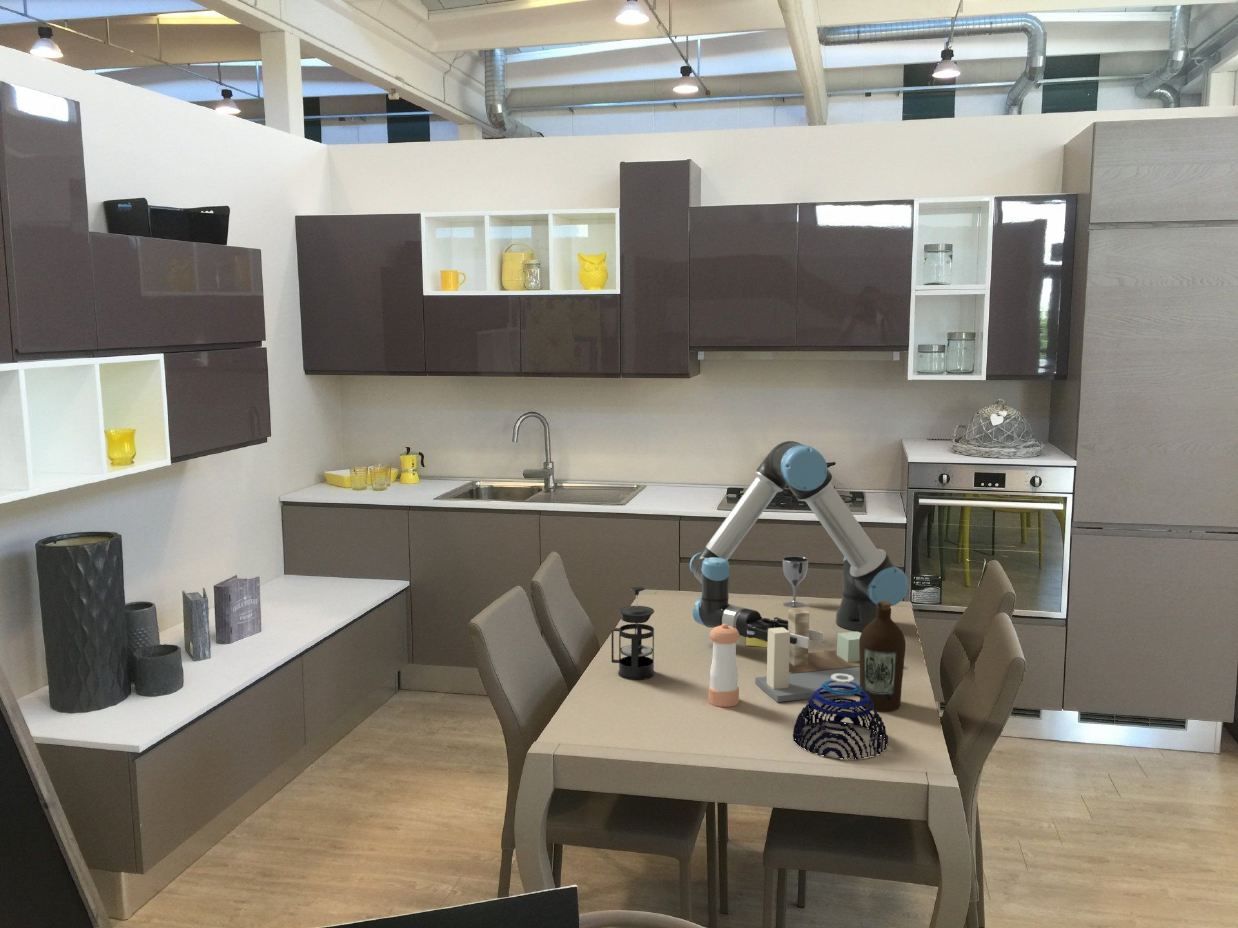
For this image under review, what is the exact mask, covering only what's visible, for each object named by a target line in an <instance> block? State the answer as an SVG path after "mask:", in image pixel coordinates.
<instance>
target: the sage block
mask: <svg viewBox="0 0 1238 928" xmlns="http://www.w3.org/2000/svg"><path fill="white" fill-rule="evenodd" d="M861 633H862V632H860V631H848V632H838V633H837V637H836V638H837V640H836V642H837V643H836V650H837V655H838V656H839V657H841V658H842V659H844V660H845V661H847V662H855V661H860V656H859V639H860V636H861Z"/></svg>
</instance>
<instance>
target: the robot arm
mask: <svg viewBox="0 0 1238 928" xmlns="http://www.w3.org/2000/svg"><path fill="white" fill-rule="evenodd" d="M754 473H755V477H754V479H753V480H752V482H751V483H750V485H748V486H747V489H746V490H745V492H744V493H743V494H742V496H741V497H740V498H739V500H738V501H737V503H736V504H735V505H734V507H732V509H731V511H730V512H729V514H728V515H727V517H725V519H724V520H723V522H722V523H721V524H720V526H719V528H717V530H716V532H715V533H714V534H713V536H712V537H711V538H710V540H709V541H708V542H707V544H706V545H705V546H704V547H703V549H702V550H701V552H697V553H696V554H694V555H692V557H691V559H690V562H689V569H690V571H691V574H692V575H693V577H694V578H695V579H696V580H698V581H699V583H700V585H701V598H698V599H697V600H696V601H695V602H694V605H693V606H694V607H693V608H692V617H693V619H694V621H695V622H696V623H697V624H699V625H702V626H705V627H706V628H710V629H713V628H715V627H717V626H721V625H722V624H727V625H728V626H731V627H733V628H736V629H737V630H738V632H739V636H741V637H746V638H748V639H753V638H754V639H758V640H760V641H764V642H767V643H768V629H769V628H781V627H783V628H785V629H786V630H788V620H787V619H782V618H780V617H779V616H778V617H777V616H776V617H773V619H774V620H773V619H770V618H766V617H762V616H761V613H760V612H759V610H758V611H757V610H754V609H750V608H746V607H742V606H738V605H734V604H731V603H729V598H730V597H729V595H730V593H729V592H730V588H729V587H730V574H731V573H730V563H729V561H728V560H729V559H730V557H731V556H732V555H733V553H734V552H735V551H736V549H737V548H738V547H739V545H740V543H742V541H743V539H744V538H745V537H746V535H748V533H749V532H750V531H751V529H752V527H753V526H754V525H755V523H756V522H757V521H758V519H759V518H760V517H761V516H762V514H763V512H764V511H765V510H766V508H767V507H768V506H769V504H770V503H771V501H772V500H773V499H774V498H775V496H776V495H777V493H781V492H783V491H784V490H785V488H787V487H788V488H789V490H790V491H791V493H792V494H793V496H795V498H796V500H797V501H798V502H799V501H801V502H805V503H806V504H807V505H808V507H809V509H810V510H811V511H812V513H813V514H814V515H815V517H816V518H817V519H818V522H820V524H821V526H822V527H823V528H824V529H825V531H826V532H827V534H828V536H829V537H830V538H831V540H833V542H834V544H835V545H836V546H837V548H838V549H839V551H840V553H842V555H843V556H844V557H843V560H842V563H843V572H842V573H843V575H842V576H843V578H842V599H841V601H840V604H839V606H838V609H837V612H836V615H835V624H836V625H837V626H838V627H840V628H842V629H846V630H849V631H854V632H857V631H858V632H862V631H863V629H864V628H865V627H866V626H867V625H868V624H869V623H871V622H872V621H873V620H874V619H875V618H876V608H877V602H878V601H888V602H890V603H891V606H890V607H893V606H896V605H898V604H899V603H901V602H902V601H903V599H904V598H905V597H906V595H907V593H908V589H909V579H908V577H907V576H906V574H905V572H904V571H903V570H902V569H900V568H899V567H897V566H896V565H895V563H894V562H893V561H892V559H891V558H890V557H889V555H888V554H887V552H886V551H885V549H882V548H877V547H876V546H875V544H874V543H873V542H872V540H871V538H870V537H869V536H868V534H867V533H866V532H865V530H864V529H863V527H862V525H861V524H860V523H859V521H858V520H857V519H856V517H855V516H854V514H853V513H852V511H851V510H850V509H849V507H848V505H847V504H846V503H845V501H844V500H843V498H842V497H841V496H840V495H839V493H838V491H837V490H836V489H835V487H834V485H833V478H834V477H833V474H832V473H831V471H830V470H829V469H828V464H827V462H826V459H825V458H824V456H823V454H821V452H820V451H819V450H817V449H816V448H814V447H812V446H809V445H805V444H802V443H800V442H797V441H793V440H787V441H784V442H780V443H778V444H777V445H776V446H775V447H773V448H772V449H771V450H770V451H769V453H767V455H766V457H765V458H764V459H763V461H762V462H761V463H760V465H759V466H758V467H757V469H756V470H755V472H754ZM823 640H824V632H823V631H818V630H814V629H810V628H809V638H808V637H804V636H801V635H797V634H793V633H790V644H792V645H796V646H799V647H803V648H807V649H808V650H809V649H810V641H811V642H816V643H819V644H822V643H823V642H824V641H823Z"/></svg>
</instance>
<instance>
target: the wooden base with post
mask: <svg viewBox="0 0 1238 928" xmlns="http://www.w3.org/2000/svg"><path fill="white" fill-rule="evenodd" d="M787 616H788V618H787V619H788V620H787V621H788V631H789V632H790V633H793V634H797V635H801V636H804V637H808V638H809V629H810V612H809V611H808V610H806V609H804V608H803V607H801V608H793V609H788V615H787ZM853 667H860V661H855V662H847V661H845V660H844V659H842V658H841V657H839V656H838V655H837V649H836V650H835V649H834V650H826V651H816V652H809V648H808V649H807V648H803V647H799V646H796V645H792V644H790V652H789V673H790V674H795V673H805V672H814V671H824V670H834V669H843V668H853Z"/></svg>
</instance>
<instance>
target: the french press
mask: <svg viewBox="0 0 1238 928" xmlns="http://www.w3.org/2000/svg"><path fill="white" fill-rule="evenodd" d="M628 590H629V591H631V592H634V595H635V605H627V606H624V607H621V608H620V609H619V610H618V612H619V614H620V620H621V621H622V622H625V623H628V624H625V625H621V626H619V627H613V628H612V629H611V663H612V664H619V665H618V672H617V673H618V676H619V677H620V678H622V679H626V680H629V681H630V680H631V681H641V680H648V679H652V678H653V677H654V676H655V668H654V667H655V665H654V664H655V663H654V661H655V628H654V627H653V626H651V625H648V624H644V623H646V622H648V621H650V618H651V616H652V615H653V614H655V609H653V608H652V607H650V606H646V605H638V596H639V593H640V592H642V591H645V590H646V587H643V586H639V585H633V586H630V587H628ZM627 630H634V633H627V632H624V631H627ZM642 630H646V631H649V632H646V633H642ZM615 632H618V636H619V637H618V646H619V647H618V648H619V649H618V659H614V654H615V653H614V650H615V648H614V647H615V646H614V645H615V643H614V642H615V641H614V639H615V637H614V634H615ZM621 638H624V639H629V640H630V641H631V642H630V643H631V644H629V645H625V646H622V644H621V643H622V640H621ZM650 638H652V647H651V646H648V645H644V644H642V642H643V641H642V640H644V639H645V640H646V639H650ZM621 646H622V647H621ZM621 655H623V656H624V657H621ZM650 655H652V658H651V657H649V656H650Z"/></svg>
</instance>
